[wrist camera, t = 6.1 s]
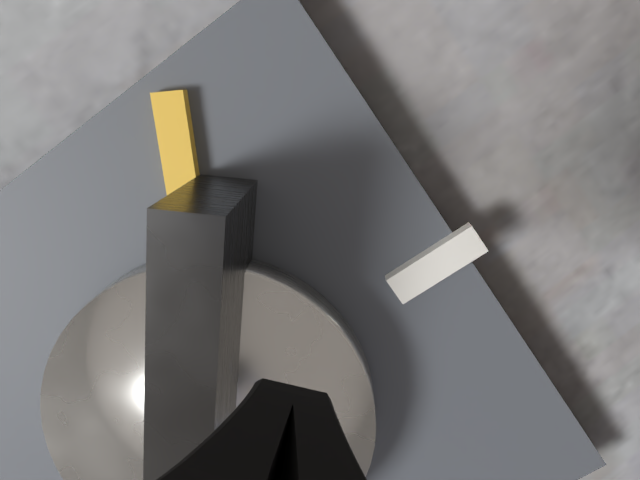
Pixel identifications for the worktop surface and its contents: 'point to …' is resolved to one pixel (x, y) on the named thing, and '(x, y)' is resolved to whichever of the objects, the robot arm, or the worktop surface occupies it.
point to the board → (284, 250)
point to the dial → (193, 344)
